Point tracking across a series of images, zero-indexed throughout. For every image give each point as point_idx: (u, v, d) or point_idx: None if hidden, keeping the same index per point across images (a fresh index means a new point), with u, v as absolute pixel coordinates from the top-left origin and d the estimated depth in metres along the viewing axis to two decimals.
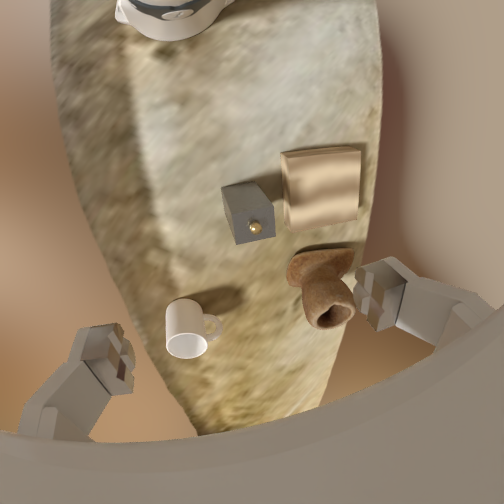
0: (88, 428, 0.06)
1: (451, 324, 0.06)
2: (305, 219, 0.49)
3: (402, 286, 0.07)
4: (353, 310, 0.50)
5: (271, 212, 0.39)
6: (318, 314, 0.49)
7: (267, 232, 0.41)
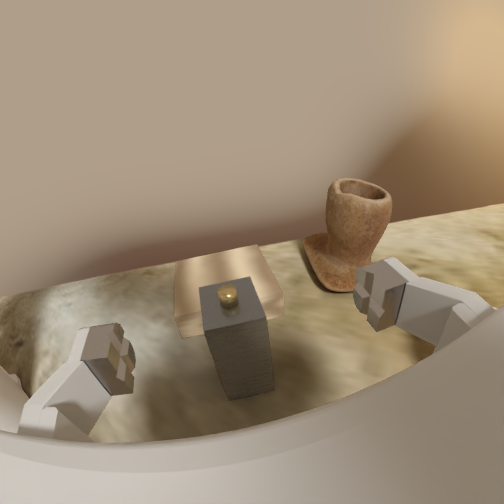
0: (88, 428, 0.06)
1: (451, 324, 0.06)
2: (260, 284, 0.37)
3: (402, 286, 0.07)
4: (342, 178, 0.39)
5: (208, 287, 0.26)
6: (363, 199, 0.33)
7: (242, 285, 0.25)
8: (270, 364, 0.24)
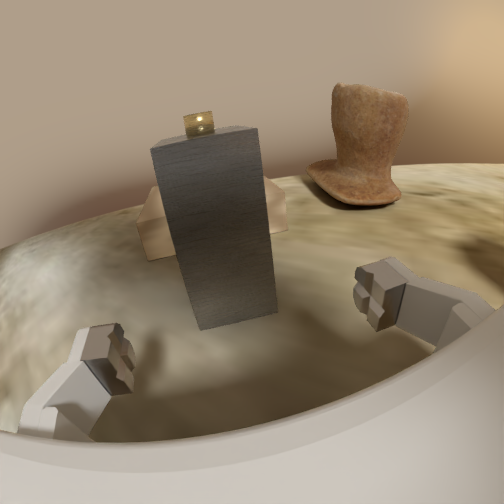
0: (88, 428, 0.06)
1: (451, 324, 0.06)
2: None
3: (402, 286, 0.07)
4: (347, 84, 0.30)
5: (175, 137, 0.16)
6: (374, 87, 0.24)
7: (223, 128, 0.16)
8: (268, 246, 0.15)
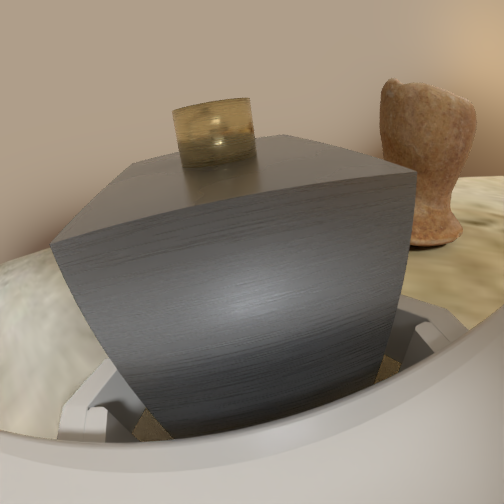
0: (129, 427, 0.06)
1: (414, 345, 0.06)
2: None
3: None
4: None
5: (159, 157, 0.08)
6: (443, 90, 0.15)
7: (266, 140, 0.07)
8: None
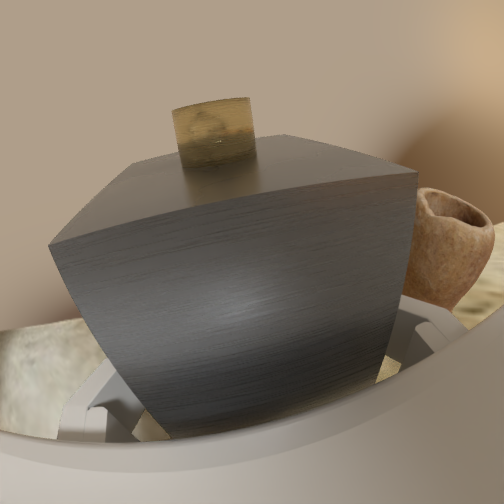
0: (129, 427, 0.06)
1: (414, 345, 0.06)
2: None
3: None
4: (423, 188, 0.23)
5: (158, 157, 0.08)
6: (470, 227, 0.17)
7: (266, 140, 0.07)
8: None
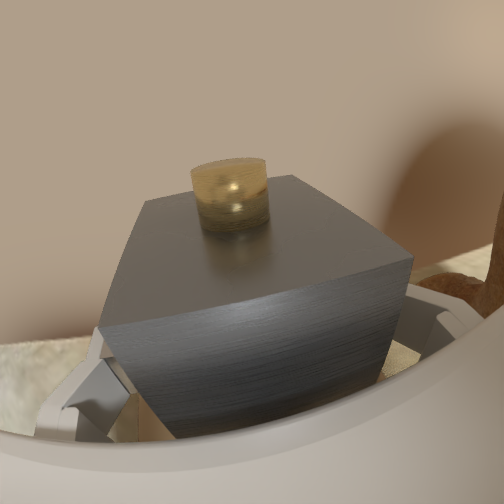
0: (106, 428, 0.06)
1: (435, 333, 0.06)
2: None
3: None
4: None
5: (172, 198, 0.08)
6: None
7: (275, 187, 0.08)
8: None
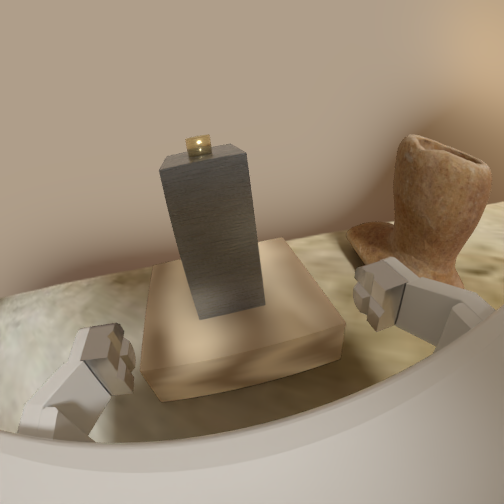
0: (88, 428, 0.06)
1: (451, 324, 0.06)
2: (301, 307, 0.20)
3: (402, 286, 0.07)
4: (414, 135, 0.22)
5: (178, 154, 0.19)
6: (464, 160, 0.16)
7: (220, 147, 0.19)
8: (256, 248, 0.18)
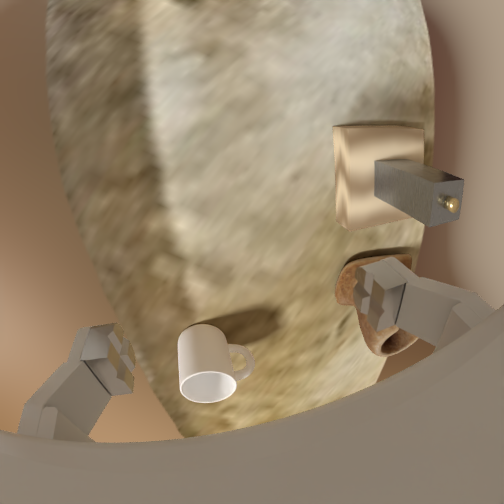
0: (88, 428, 0.06)
1: (451, 324, 0.06)
2: (366, 213, 0.36)
3: (402, 286, 0.07)
4: None
5: (461, 187, 0.24)
6: (385, 337, 0.34)
7: (454, 213, 0.25)
8: (395, 206, 0.31)
